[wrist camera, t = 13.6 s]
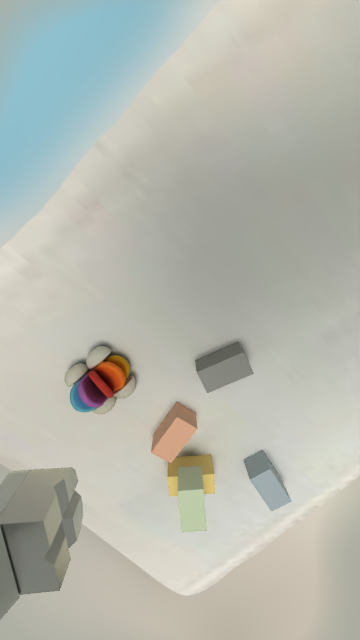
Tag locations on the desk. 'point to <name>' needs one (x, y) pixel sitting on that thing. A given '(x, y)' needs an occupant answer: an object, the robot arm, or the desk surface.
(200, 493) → the sage brick
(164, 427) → the terracotta brick
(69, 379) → the multicolored fanned-prong toy
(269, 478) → the slate brick
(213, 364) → the charcoal brick
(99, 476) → the desk surface
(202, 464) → the ochre brick
